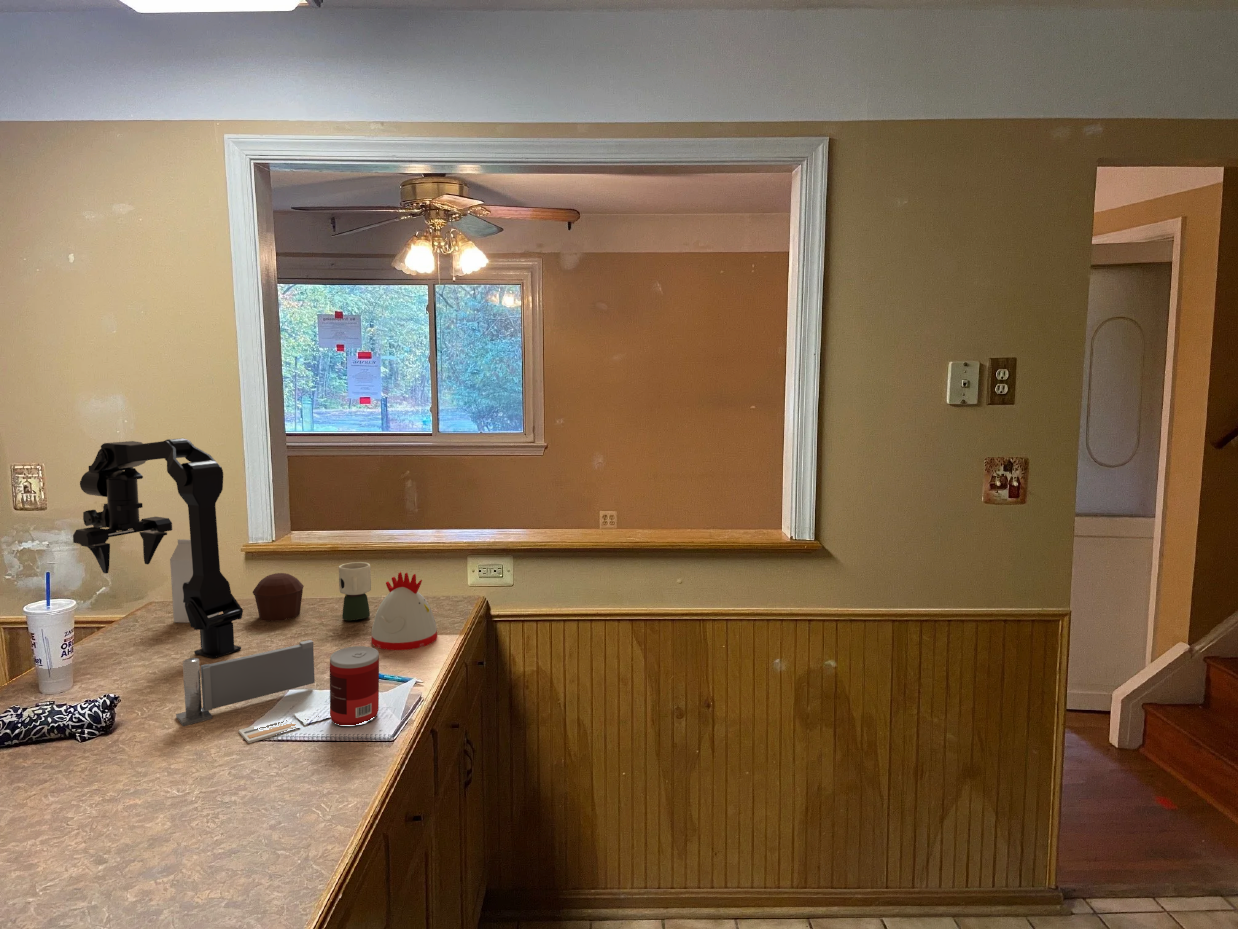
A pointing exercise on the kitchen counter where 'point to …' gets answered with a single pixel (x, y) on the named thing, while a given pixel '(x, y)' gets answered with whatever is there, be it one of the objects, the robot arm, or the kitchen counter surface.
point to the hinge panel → (257, 675)
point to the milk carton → (181, 578)
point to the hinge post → (192, 694)
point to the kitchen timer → (403, 617)
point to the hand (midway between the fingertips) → (126, 568)
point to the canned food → (354, 685)
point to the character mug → (355, 589)
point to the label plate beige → (263, 732)
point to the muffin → (278, 597)
